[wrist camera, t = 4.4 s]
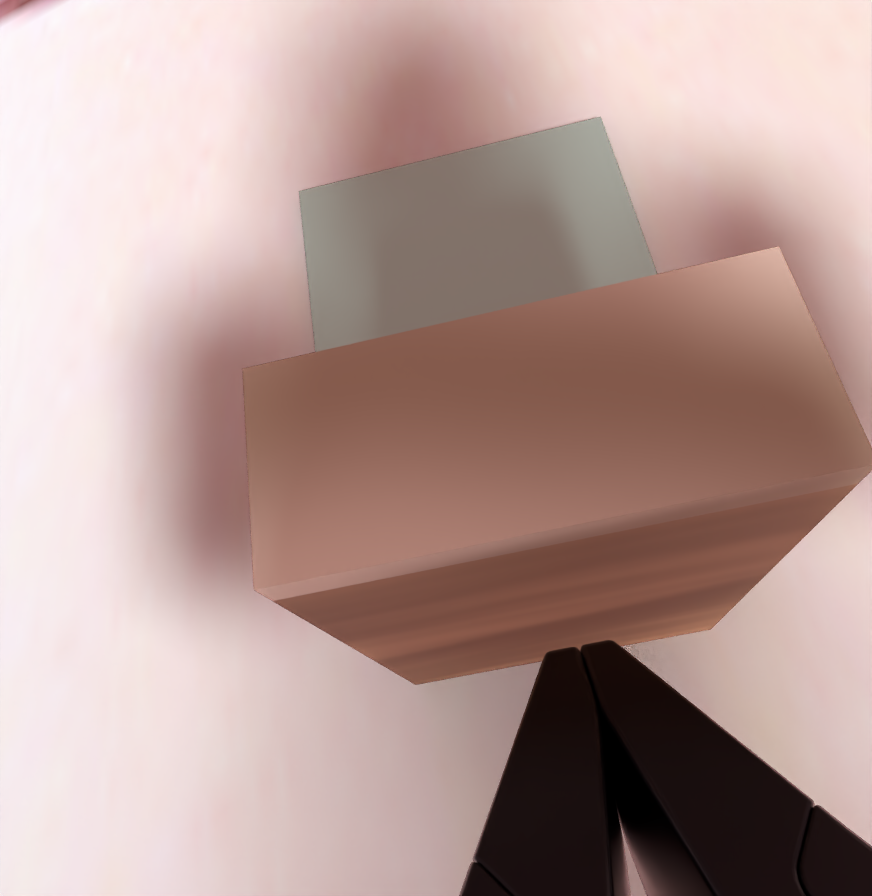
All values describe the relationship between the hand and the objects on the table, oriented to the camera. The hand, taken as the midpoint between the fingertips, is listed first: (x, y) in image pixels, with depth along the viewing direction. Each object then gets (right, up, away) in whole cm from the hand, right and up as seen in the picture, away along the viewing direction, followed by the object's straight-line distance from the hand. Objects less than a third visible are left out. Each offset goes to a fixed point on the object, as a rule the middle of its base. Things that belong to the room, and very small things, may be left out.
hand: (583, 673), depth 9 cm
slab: (+1, -1, +9) cm, 9 cm away
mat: (-1, +7, +12) cm, 14 cm away
